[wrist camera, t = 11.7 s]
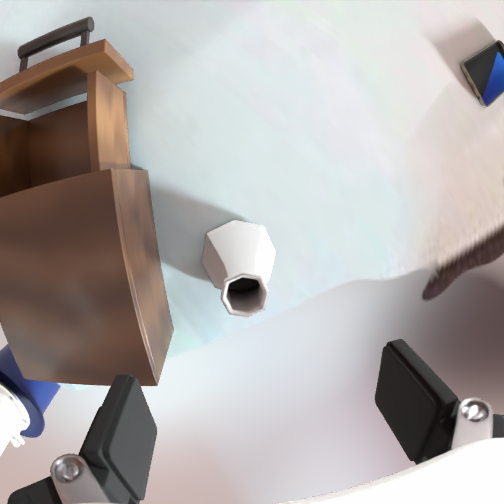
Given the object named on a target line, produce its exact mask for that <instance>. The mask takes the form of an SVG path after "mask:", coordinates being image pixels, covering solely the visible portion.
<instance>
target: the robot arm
mask: <svg viewBox="0 0 504 504" xmlns="http://www.w3.org/2000/svg"><path fill="white" fill-rule="evenodd" d="M375 402H376V405H377V407H378V408H379V410H380V412H381V413H382V415H383V417H384V418H385V420H386V422H387V423H388V425H389V426H390V428H391V430H392V431H393V433H394V435H395V436H396V438H397V440H398V441H399V443H400V445H401V446H402V448H403V450H404V451H405V453H406V455H407V456H408V458H409V460H410V461H414V462H415V463H416V465H415V466H413V467H410V468H408V469H405V470H403V471H400V472H397V473H395V474H392V475H389V476H386V477H384V478H381V479H378V480H375V481H372V482H368V483H365V484H362V485H358V486H355V487H351V488H348V489H344V490H340V491H336V492H332V493H328V494H324V495H319V496H315V497H310V498H304V499H299V500H293V501H287V502H281V503H274V504H504V415H498V414H493V410H492V407H491V405H490V404H489V403H488V402H487V401H485V400H483V399H480V398H468V399H466V400H464V401H462V402H460V401H459V400H458V397H457V396H456V395H455V394H454V393H453V392H452V391H451V390H450V389H449V387H448V386H447V385H446V384H445V383H444V382H443V381H442V380H441V379H440V378H439V377H438V376H437V375H436V374H435V373H434V371H433V370H432V369H431V368H430V367H429V366H428V365H427V364H426V363H425V362H424V361H423V360H422V359H421V358H420V357H419V356H418V355H417V354H416V353H415V352H414V351H413V350H412V349H411V348H410V347H409V346H408V345H407V344H406V342H405V341H404V340H402V339H398V340H394V341H391V342H388V343H387V345H386V346H385V347H384V348H383V352H382V358H381V365H380V371H379V378H378V383H377V388H376V394H375ZM29 424H30V418H29V415H28V413H27V410H26V409H25V407H24V405H23V404H22V402H21V401H20V400H19V398H18V397H17V396H16V395H15V394H14V393H13V392H12V391H11V390H10V389H9V388H8V387H7V386H6V385H4V384H3V383H2V382H0V455H1V454H2V452H3V450H4V449H5V447H6V445H7V444H8V442H9V441H11V443H12V444H13V446H14V447H19V445H23V444H24V443H25V442H24V440H23V438H22V437H21V436H20V432H21V430H25V429H27V427H28V426H29ZM156 435H157V427H156V424H155V422H154V419H153V417H152V414H151V412H150V410H149V407H148V405H147V402H146V399H145V397H144V394H143V392H142V389H141V386H140V383H139V381H138V379H137V378H134V377H133V375H131V374H117V375H116V377H115V379H114V381H113V383H112V385H111V387H110V389H109V391H108V394H107V396H106V398H105V400H104V402H103V404H102V406H101V407H100V408H99V409H98V411H97V413H96V415H95V418H94V420H93V422H92V424H91V427H90V429H89V431H88V433H87V436H86V438H85V440H84V443H83V445H82V447H81V449H80V452H79V454H78V455H76V454H66V455H62V456H60V457H58V458H57V459H56V460H55V461H54V462H53V463H52V465H51V469H50V472H51V476H49V477H47V478H45V479H43V480H40V481H38V482H36V483H33V484H31V485H28V486H26V487H24V488H21V489H19V490H16V491H15V492H13V493H12V494H11V495H10V497H9V499H8V503H7V504H139V502H140V500H143V499H144V497H145V492H146V486H147V481H148V476H149V470H150V465H151V460H152V455H153V450H154V445H155V441H156Z"/></svg>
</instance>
